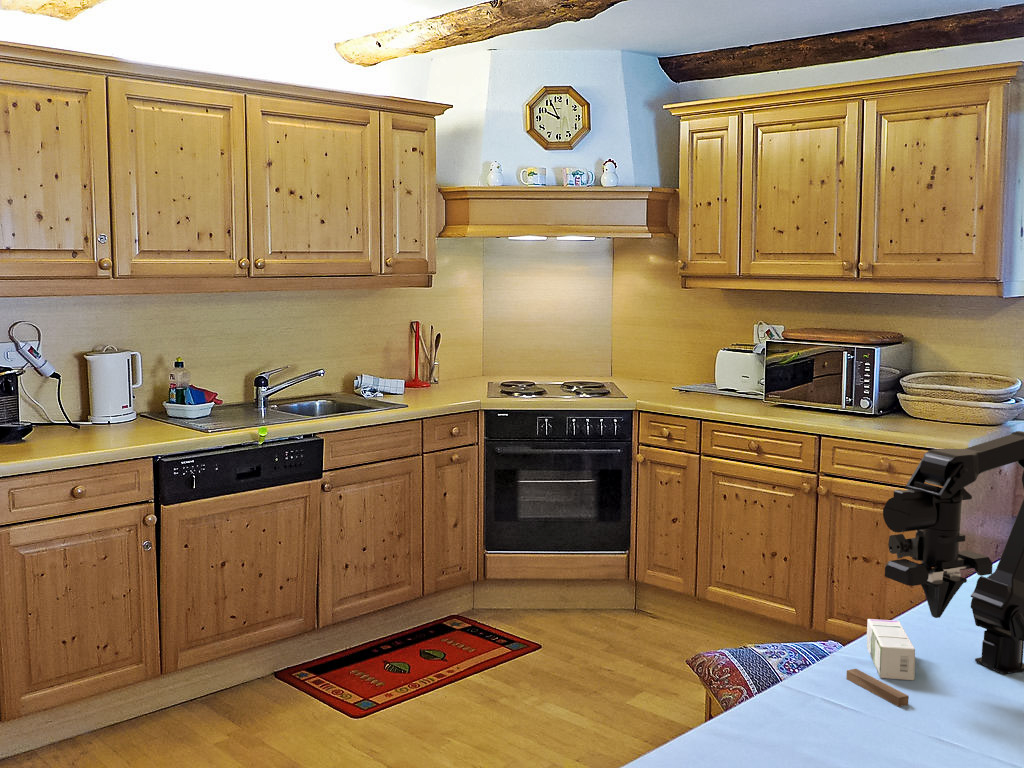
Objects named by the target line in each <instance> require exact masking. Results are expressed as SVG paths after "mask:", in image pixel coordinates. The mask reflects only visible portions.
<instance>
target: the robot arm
mask: <svg viewBox="0 0 1024 768" xmlns="http://www.w3.org/2000/svg"><path fill="white" fill-rule="evenodd" d="M1012 463H1013V464H1014V463H1016V464H1017V465H1018V466H1019V467H1020V468H1021V469H1022V474H1021V485H1022V489H1023V490H1024V431H1021V430H1016V431H1012V432H1010V434H1008V435H1004V436H1001V437H999V438H995V439H992V440H988V441H985V442H982V443H979V444H976V445H971V446H970V447H966V448H935V449H929V450H928V451H926V452H925V453H924V454H923V458H922V459H921V460H920V462H919V464H918V465H917V467H916V469H915V470H914V472H913V473H912V474H911V477H910V478H909V480H908V482H907V483H906V485H905V489H894V491H893V496H892V497H891V498H888V500H887V501H885V504H884V507H883V508H882V516H883V521H884V523H885V525H886V527H887V528H888V529H889V530H890V531H892V532H894V533H898V534H892V535H889V537H888V544H887V545H888V551H889V553H890V554H891V555H894V554H895V555H896V557H897V559H895V560H894V559H893V560H889V561H887V563H885V565H884V577H885V578H886V579H887V578H888V579H889V580H893V581H895V582H898V583H900V584H903V585H906V586H910V587H914V586H921V588H922V590H923V592H924V595H925V599H926V601H927V604H928V608H929V611H930V615H931V617H933V618H935V619H940V618H941V616H942V615H943V614H944V612H945V610H946V609H947V607H948V606H949V604H950V603H951V601H952V599H953V598H954V597H955V595H956V594H957V592H958V591H959V590H960V589H961V588H962V586H963V585H964V584H965V583H967V582H968V579H967V578H966V577H962V576H961V574H962V573H961V571H963V570H969V569H974V572H975V573H976V574H977V575H978V576H979V578H978V579H977V581H976V584H975V585H976V586H975V588H974V590H973V592H972V593H971V594H970V597H971V598H972V599H971V601H970V609H971V611H972V614H973V619H974V624H975V627H980V628H983V629H985V630H984V631H983V640H982V642H981V643H982V644H981V645H982V647H981V657H976V658H974V662H976V663H978V664H980V665H982V666H984V667H987V668H989V669H991V670H994V671H996V672H997V673H1000V674H1003V675H1009V674H1011V673H1013V674H1014V673H1018V672H1022V671H1024V662H1023V661H1024V660H1023V659H1024V498H1023V499H1022V502H1021V505H1020V507H1019V509H1018V513H1017V515H1016V517H1015V520H1014V523H1013V525H1012V527H1011V529H1010V533H1009V535H1008V538H1007V541H1006V543H1005V545H1004V549H1003V551H1002V553H1001V556H1000V558H999V561H998V564H997V566H996V569H995V571H994V572H993V567H994V566H993V562H992V559H990V557H989V556H987V555H985V554H984V555H983V554H981V553H978V552H975V551H971V550H969V549H968V550H967V549H966V550H960V543H961V542H966V534H963V533H961V520H962V507H963V506H962V505H963V501H969V500H972V498H973V495H971V493H970V492H969V491H967V490H966V488H965V487H968V486H969V485H971V484H973V483H975V482H976V481H977V478H978V477H979V475H981V474H983V473H986V472H988V471H992V470H995V469H997V468H1000V467H1004V466H1007V465H1010V464H1012ZM913 531H914V532H915V531H916V532H915V537H911V538H906V537H905V535H904V534H903V533H905V532H913ZM904 557H910V558H911V560H909V559H907V558H904ZM912 560H913V561H912ZM916 561H917V562H916ZM919 562H921V563H919ZM985 576H987V577H985Z"/></svg>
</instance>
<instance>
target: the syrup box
mask: <svg viewBox="0 0 1024 768" xmlns="http://www.w3.org/2000/svg"><path fill="white" fill-rule="evenodd" d="M866 626H867V627H866V649H867V651H868V654H869V656H870V658H871V660H872V663H873V665H874V667H875V669H876V670H875V671H876V672H877V674H878V676H879V678H880V679H893V680H905V681H906V680H907V681H914V680H915V674H916V672H915V671H916V649H915V647H914V645H913V643H912V642H911V640H910V638H909V636H908V634H907V633H906V630H904V629H905V628H904V627H903V625H902V624H901V622H900V620H890V619H889V620H888V619H876V618H875V619H874V618H867V625H866Z"/></svg>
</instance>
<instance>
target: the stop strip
mask: <svg viewBox="0 0 1024 768" xmlns="http://www.w3.org/2000/svg"><path fill="white" fill-rule="evenodd" d="M845 677H846V680H848V681H850V682H852V683H853V684H855V685H857V686H859V687H861V688H863V689H865V690H866V691H868V692H870V693H872V694H874V695H875V696H878V697H879V698H881V699H884V700H885V701H887V702H888V703H890V704H892V705H894V706H896V707H898V708H900V707H903V706H909V700H910V699H909V696H910V695H909V694H906V693H904V692H902V691H900V690H898V689H896V688H895V687H893V686H891V685H888V684H887V683H885V682H884V681H883V682H882V681H881V680H879V679H877V678H875V677H873V676H871V675H870V674H867V673H866V672H864V671H862V670H860V669H858V668H853V669H847V670H846V676H845Z"/></svg>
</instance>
